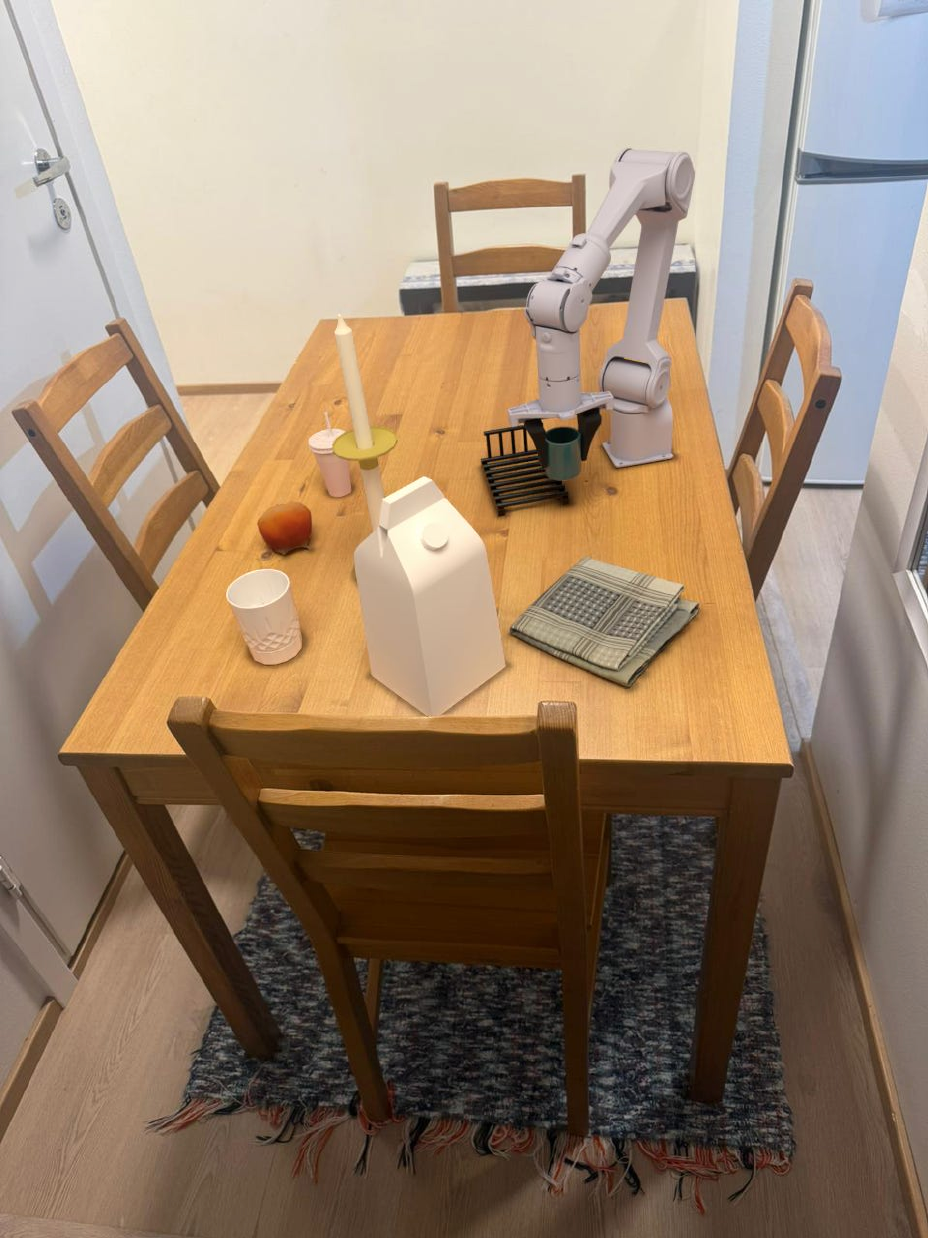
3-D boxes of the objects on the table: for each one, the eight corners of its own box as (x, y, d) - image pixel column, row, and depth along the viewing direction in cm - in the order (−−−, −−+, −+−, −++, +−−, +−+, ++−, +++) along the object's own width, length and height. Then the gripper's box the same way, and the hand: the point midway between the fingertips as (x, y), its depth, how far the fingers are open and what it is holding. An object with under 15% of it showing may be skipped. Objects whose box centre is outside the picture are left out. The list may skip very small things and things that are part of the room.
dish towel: (504, 636, 111) (503, 617, 109) (583, 565, 121) (583, 546, 119) (631, 694, 101) (632, 674, 99) (706, 611, 111) (708, 591, 109)
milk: (443, 627, 114) (415, 449, 98) (505, 666, 107) (487, 482, 91) (371, 675, 108) (329, 496, 92) (432, 720, 101) (398, 535, 85)
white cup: (250, 632, 118) (230, 573, 111) (308, 624, 117) (291, 564, 111) (244, 672, 111) (222, 612, 105) (305, 664, 111) (287, 603, 105)
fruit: (276, 563, 127) (255, 511, 125) (268, 563, 134) (249, 514, 133) (328, 544, 129) (308, 492, 128) (318, 545, 137) (299, 496, 135)
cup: (576, 459, 130) (575, 423, 126) (585, 476, 126) (585, 440, 122) (541, 465, 129) (539, 430, 126) (549, 483, 125) (548, 447, 122)
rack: (546, 456, 145) (545, 419, 141) (569, 504, 133) (568, 465, 129) (481, 468, 144) (477, 431, 140) (498, 516, 133) (494, 477, 129)
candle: (435, 554, 127) (396, 295, 103) (404, 596, 120) (354, 329, 96) (375, 544, 131) (324, 291, 107) (341, 583, 124) (279, 323, 100)
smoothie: (352, 502, 140) (335, 422, 131) (315, 501, 142) (295, 422, 133) (364, 480, 145) (348, 403, 136) (327, 480, 147) (309, 403, 138)
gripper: (512, 394, 114) (519, 483, 123) (620, 375, 115) (619, 465, 124) (501, 372, 120) (509, 459, 128) (605, 354, 121) (605, 442, 129)
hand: (562, 461), depth 127 cm, fingers closed on cup, 5 cm apart
